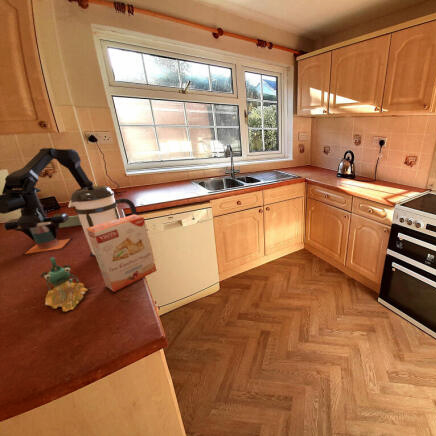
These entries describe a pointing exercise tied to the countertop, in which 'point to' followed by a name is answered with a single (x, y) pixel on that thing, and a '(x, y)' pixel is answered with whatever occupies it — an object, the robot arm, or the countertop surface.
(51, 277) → the frog figurine
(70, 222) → the block
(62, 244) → the cloth
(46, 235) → the can
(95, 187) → the coffee press
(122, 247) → the cracker box
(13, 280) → the countertop surface
